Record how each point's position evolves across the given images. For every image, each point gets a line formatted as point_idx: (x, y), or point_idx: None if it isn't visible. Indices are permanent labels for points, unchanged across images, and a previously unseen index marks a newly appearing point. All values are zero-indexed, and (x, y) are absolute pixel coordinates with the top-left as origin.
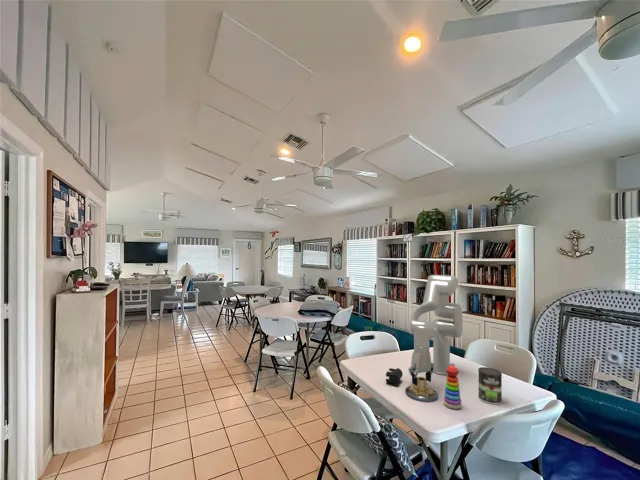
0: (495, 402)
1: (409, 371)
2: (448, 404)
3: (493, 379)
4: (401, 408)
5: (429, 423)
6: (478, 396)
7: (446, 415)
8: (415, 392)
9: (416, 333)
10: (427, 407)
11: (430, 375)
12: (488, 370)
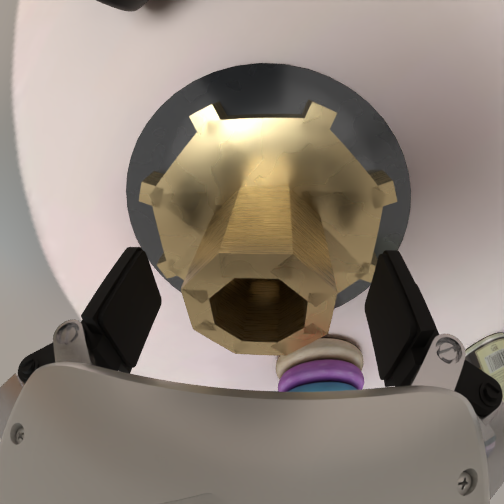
0: None
1: (12, 386)
2: (278, 377)
3: None
4: (59, 277)
5: None
6: (479, 343)
7: (219, 377)
8: (165, 251)
9: None
10: (180, 326)
11: (382, 376)
12: None
